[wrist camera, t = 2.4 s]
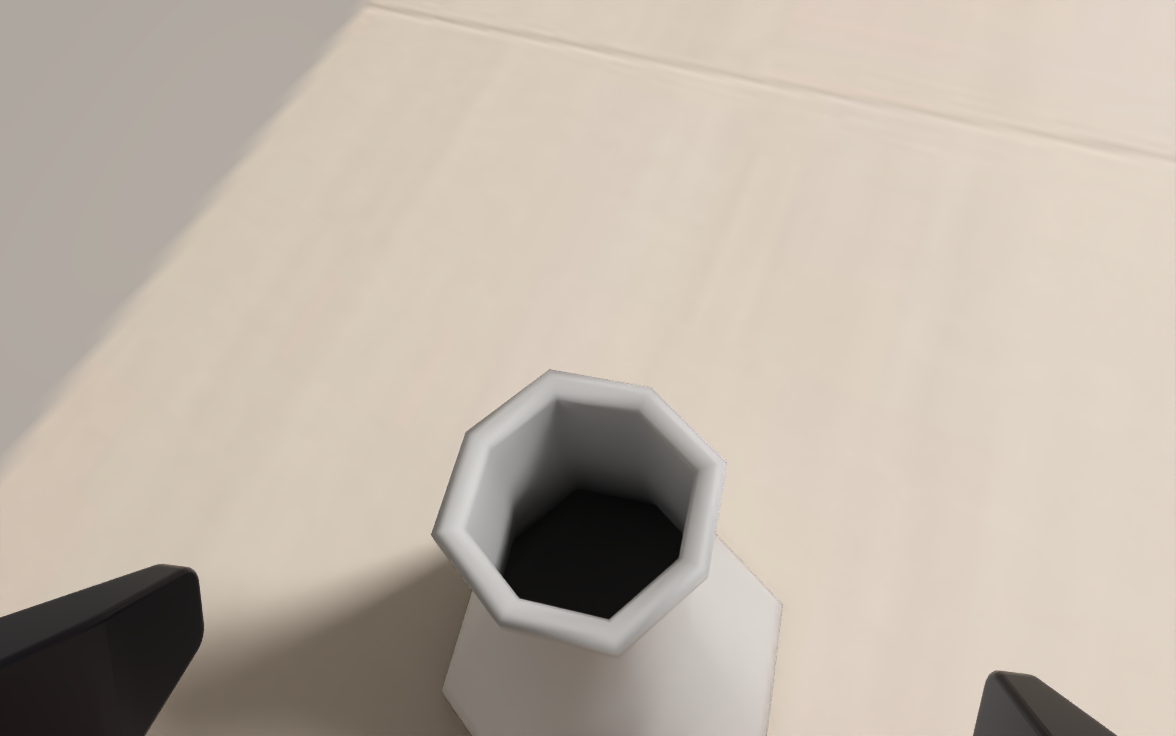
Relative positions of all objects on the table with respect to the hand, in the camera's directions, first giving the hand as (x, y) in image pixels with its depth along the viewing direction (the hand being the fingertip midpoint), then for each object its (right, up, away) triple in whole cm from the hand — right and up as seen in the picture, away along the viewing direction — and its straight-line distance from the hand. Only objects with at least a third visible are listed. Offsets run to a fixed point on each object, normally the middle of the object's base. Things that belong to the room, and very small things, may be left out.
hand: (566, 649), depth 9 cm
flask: (+1, -3, +9) cm, 9 cm away
